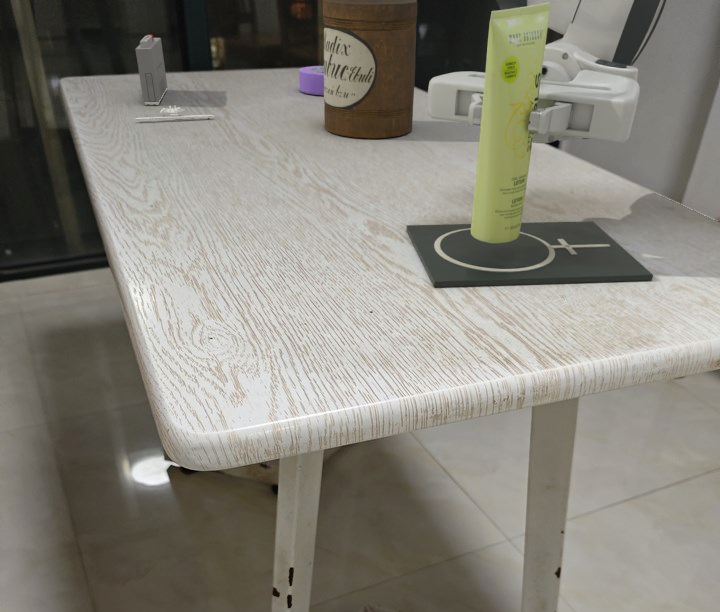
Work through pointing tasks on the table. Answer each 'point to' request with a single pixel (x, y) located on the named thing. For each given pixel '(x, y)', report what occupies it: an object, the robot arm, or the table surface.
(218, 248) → the table surface
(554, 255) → the chalkboard
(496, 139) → the tube
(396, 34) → the wooden container
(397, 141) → the table surface
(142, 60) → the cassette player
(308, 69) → the tape roll
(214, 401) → the table surface
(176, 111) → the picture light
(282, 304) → the table surface
